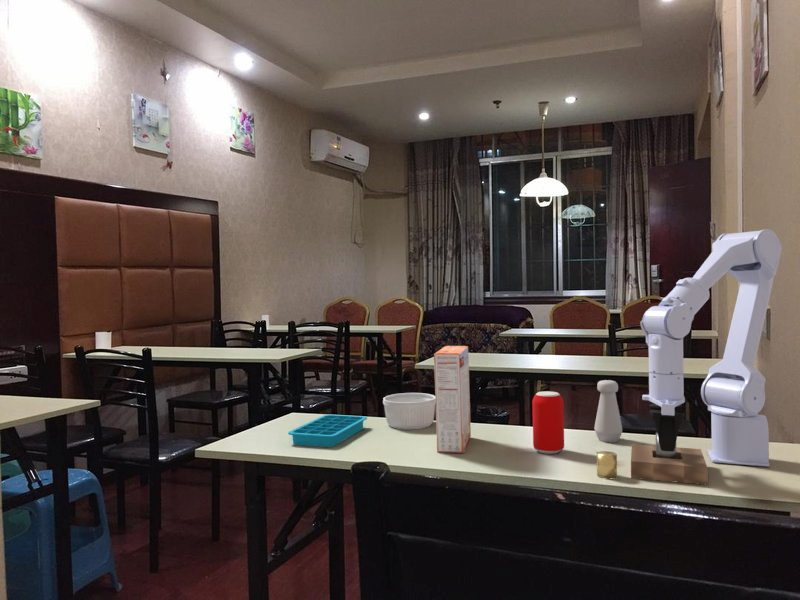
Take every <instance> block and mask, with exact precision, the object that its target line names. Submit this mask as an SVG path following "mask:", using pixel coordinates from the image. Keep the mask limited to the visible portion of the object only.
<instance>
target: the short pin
mask: <svg viewBox="0 0 800 600" xmlns="http://www.w3.org/2000/svg"><path fill="white" fill-rule="evenodd" d="M596 476H597V477H598V478H599V479H603V478H607V479H606V480H611V479H610V478H615V479H617V478H618V454H617V453H616V452H613V451H603V450H602V451H601V450H600V451H597V452H596Z"/></svg>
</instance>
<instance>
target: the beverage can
mask: <svg viewBox="0 0 800 600" xmlns="http://www.w3.org/2000/svg"><path fill="white" fill-rule="evenodd" d="M564 402H565V401H564V400H563V397H562V396H561V393H559V392H556V391H549V390H547V391H538V392H537V393H535V394H534V396H533V398H532V442H533V443H532V446H533V448H534V449H535V450H536V451H537V452H538V453H541V454H545V455H554V454H558V453H559V452H561V451H562V450H563V449H564V448H565V414H564V413H565V411H564V409H565V408H564V407H565V406H564V405H565V404H564Z"/></svg>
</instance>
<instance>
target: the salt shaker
mask: <svg viewBox="0 0 800 600" xmlns="http://www.w3.org/2000/svg"><path fill="white" fill-rule="evenodd" d="M596 388H597V391H598V392H600V395H599V400H598V406H597V410H596V411H597V412H596V418H595V422H594V427H593V428H594V431H595V434H596V436H597V439H598V441H600V442H603V443H604V442H605V443H615V442H619V440H620V438H621V436H622V434H623V426H622V421H621V420H622V419H621V416H620V415H621V414H620V409H619V404H618V401H617V394H616V393H617V392H618V391H619V384H618V382H616V381H615V380H611V379H608V380H607V379H604V380H599V381H597V387H596Z"/></svg>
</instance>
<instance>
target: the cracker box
mask: <svg viewBox="0 0 800 600" xmlns="http://www.w3.org/2000/svg"><path fill="white" fill-rule="evenodd" d="M433 363H434V368H433V369H434V391H435V392H434V393H435V394H434V396H435V399H436V403H435V422H436V429H435V430H436V450H437V451H436V452H437V453H444V454H447V453H452V454H463V453H465V451H466V450H465V449H466V448H467V446H468V443H469V441H470V439H471V436H472V434H471V432H472V431H471V428H472V427H471V402H470V401H471V400H470V399H471V396H470V395H471V394H470V367H469V366H470V365H469V346H468V345H467V346H466V345H445V346H443V347H441V349H439V350H438V351H436V352H435V353H434V354H433Z"/></svg>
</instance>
